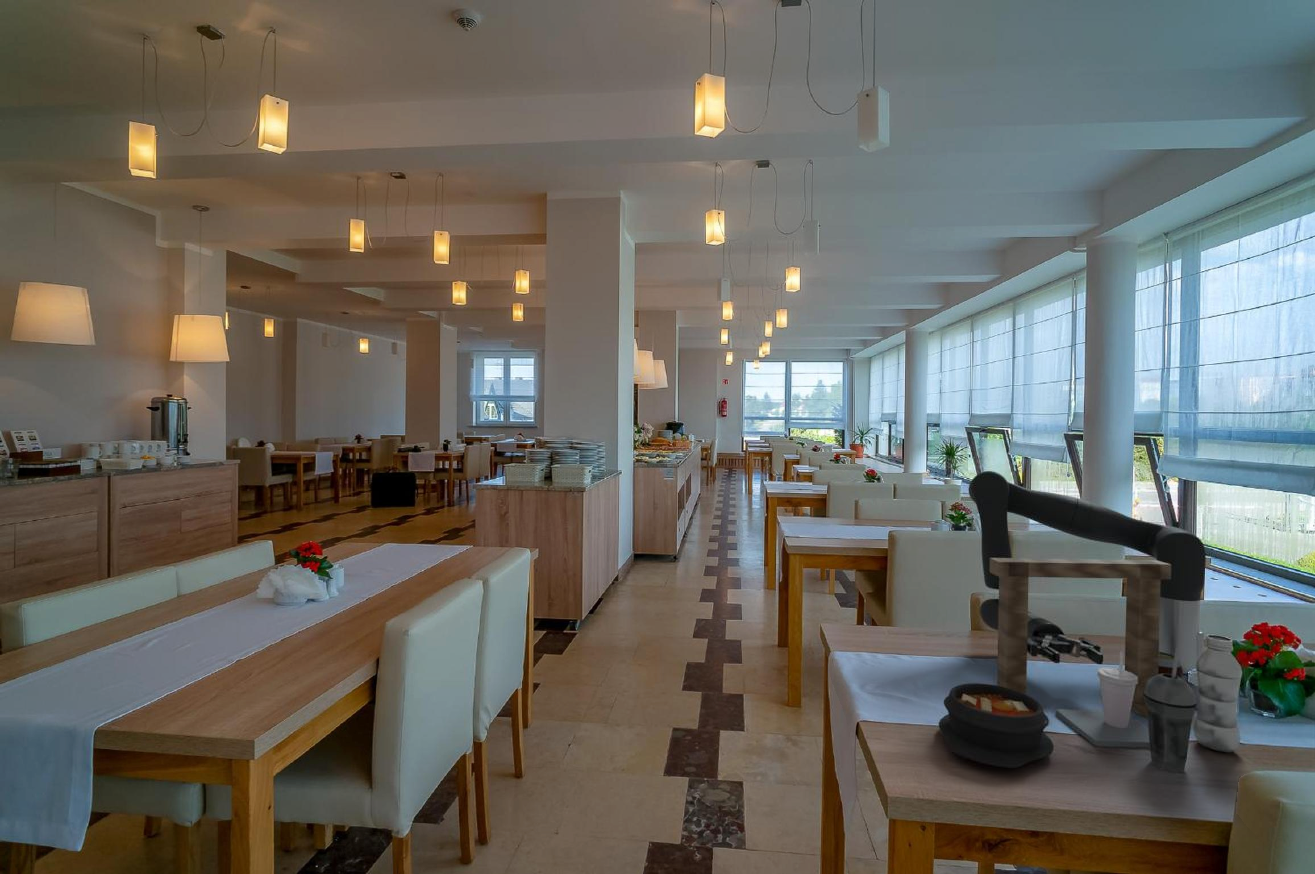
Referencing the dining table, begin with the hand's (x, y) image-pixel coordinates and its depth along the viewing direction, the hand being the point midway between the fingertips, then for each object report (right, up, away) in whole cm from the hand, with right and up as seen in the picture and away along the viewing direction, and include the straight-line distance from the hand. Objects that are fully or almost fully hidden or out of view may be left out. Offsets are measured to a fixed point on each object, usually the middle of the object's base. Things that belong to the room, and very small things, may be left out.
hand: (1079, 659), depth 135 cm
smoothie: (+1, -9, -9) cm, 13 cm away
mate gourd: (+23, -10, +8) cm, 26 cm away
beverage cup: (+1, -11, -23) cm, 25 cm away
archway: (0, -10, +1) cm, 10 cm away
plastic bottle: (+14, -11, -16) cm, 24 cm away
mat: (-1, -10, -10) cm, 14 cm away
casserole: (-25, -11, -15) cm, 31 cm away
